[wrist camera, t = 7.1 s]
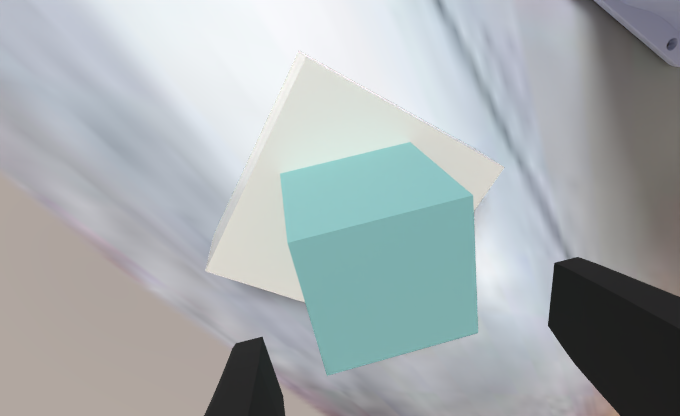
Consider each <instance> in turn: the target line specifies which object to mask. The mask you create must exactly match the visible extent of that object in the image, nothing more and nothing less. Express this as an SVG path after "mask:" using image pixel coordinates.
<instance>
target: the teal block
mask: <svg viewBox="0 0 680 416" xmlns="http://www.w3.org/2000/svg"><path fill="white" fill-rule="evenodd" d="M280 179H281V188H282V197H283V207H284V216H285V225H286V234H287V243H288V247H289V250H290V253H291V257H292V260H293V263H294V267H295V270H296V273H297V277H298V280H299V283H300V287H301V290H302V293H303V297H304V300H305V304H306V307H307V310H308V314H309V317H310V320H311V324H312V327H313V330H314V334H315V337H316V340H317V344H318V347H319V350H320V354H321V357H322V361H323V364H324V367H325V371H326V374H327V376H328V375H331V374H335V373H339V372H342V371H346V370H349V369H353V368H356V367H360V366H363V365H367V364H370V363H374V362H377V361H381V360H384V359H388V358H392V357H395V356H399V355H402V354H406V353H409V352H413V351H416V350H420V349H423V348H427V347H430V346H434V345H437V344H441V343H445V342H448V341H452V340H455V339H459V338H462V337H466V336H469V335H473V334H476V333H478V317H477V289H476V262H475V234H474V206H473V195H472V194H471V193H470V192H469V191H468V190H466V189H465V188H464V187H463V186H462V185H460V184H459V183H458V182H457V181H456V180H455V179H453V178H452V177H451V176H450V175H449V174H447V173H446V172H445V171H444V170H443V169H442V168H440V167H439V166H438V165H437V164H436V163H434V162H433V161H432V160H431V159H430V158H429V157H427V156H426V155H425V154H424V153H423V152H422V151H420V150H419V149H418V148H417V147H416V146H414V145H413V144H412V143H411V142H408V143H404V144H400V145H395V146H391V147H387V148H383V149H379V150H375V151H371V152H367V153H363V154H358V155H354V156H350V157H346V158H342V159H338V160H334V161H330V162H326V163H322V164H317V165H313V166H309V167H305V168H301V169H297V170H293V171H289V172H285V173H280Z"/></svg>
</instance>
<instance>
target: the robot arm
mask: <svg viewBox="0 0 680 416" xmlns="http://www.w3.org/2000/svg"><path fill="white" fill-rule="evenodd" d="M594 1H595V2H596V3H597V4H598V5H600V6H601V7H602V8H603V9H604V10H605V11H607V12H608V13H609V14H610V15H611V16H613V17H614V18H615V19H616V20H617V21H618V22H620V23H621V24H622V25H623V26H624V27H626V28H627V29H628V30H629V31H630V32H631V33H633V34H634V35H635V36H636V37H637V38H638V39H640V40H641V41H642V42H643V43H644V44H646V45H647V46H648V47H649V48H650V49H651V50H653V51H654V52H655V53H656V54H657V55H658V56H660V57H661V58H662V59H663V60H664V61H666V62H667V63H668V64H669V65H671V66H675V67H680V0H594ZM668 41H669V45H668V47H667V43H668ZM548 326H549V328H550V329H551V331H552V332H553V334H554V335H555V337H556V338H557V340H558V341H559V343H560V344H561V346H562V347H563V348H564V350H565V351H566V352H567V354H568V355H569V357H570V358H571V359H572V361H573V362H574V363H575V365H576V366H577V367H578V368H579V369H580V370H581V372H582V373H583V374H584V375H585V376H586V377H587V379H588V380H589V381H590V382H591V383H592V384H593V385H594V386H595V388H596V389H597V390H598V391H599V392H600V393H601V394H602V396H603V397H604V398H605V399H606V400H607V401H608V402H609V403H610V404H611V406H612V407H613V408H614V409H615V410H616V411H617V412H618V413H619V415H620V416H680V297H678V296H676V295H673V294H671V293H668V292H666V291H663V290H661V289H658V288H656V287H653V286H651V285H648V284H646V283H644V282H641V281H639V280H636V279H634V278H631V277H629V276H626V275H624V274H621V273H619V272H616V271H614V270H611V269H609V268H606V267H604V266H601V265H599V264H596V263H593V262H591V261H588V260H585V259H582V258H579V257H576V258H572V259H568V260H564V261H560V262H556V263H554V273H553V283H552V292H551V302H550V311H549V321H548ZM204 416H285V410H284V401H283V395H282V392H281V389H280V386H279V383H278V380H277V377H276V375H275V372H274V369H273V366H272V363H271V360H270V357H269V354H268V352H267V349H266V346H265V343H264V340H263V337H260V338H256V339H252V340H248V341H244V342H240V343H236V344H235V346H234V347H233V348H232V351H231V354H230V356H229V359H228V361H227V364H226V367H225V369H224V371H223V374H222V376H221V379H220V381H219V384H218V386H217V388H216V391H215V393H214V395H213V397H212V400H211V402H210V404H209V406H208V408H207V411H206V413H205V415H204Z"/></svg>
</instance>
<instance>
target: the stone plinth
mask: <svg viewBox="0 0 680 416" xmlns="http://www.w3.org/2000/svg"><path fill="white" fill-rule="evenodd" d="M408 142H411V143H412V144H413V145H414V146H416V147H417V148H418V149H419V150H420V151H422V152H423V153H424V154H425V155H426V156H427V157H429V158H430V159H431V160H432V161H433V162H434V163H436V164H437V165H438V166H439V167H440V168H442V169H443V170H444V171H445V172H446V173H447V174H449V175H450V176H451V177H452V178H453V179H455V180H456V181H457V182H458V183H459V184H460V185H462V186H463V187H464V188H465V189H466V190H468V191H469V192H470V193H471V194H472V195H473V206H474V210H475V209H476V208H477V206H478V205H479V203H480V202H481V200H482V199H483V198H484V196H485V195H486V193H487V192H488V190H489V189H490V187H491V186H492V185H493V183H494V182H495V180H496V179H497V177H498V176H499V175H500V173H501V172H502V170H503V169H504V167H503V166H502V165H500V164H498V163H497V162H495V161H494V160H492V159H490V158H489V157H487V156H486V155H484V154H482V153H481V152H479V151H477V150H476V149H474V148H473V147H471V146H469V145H468V144H466V143H464V142H462V141H460V140H459V139H457V138H455V137H453V136H451V135H450V134H448V133H446V132H444V131H442V130H441V129H439V128H437V127H435V126H433V125H432V124H430V123H428V122H426V121H424V120H423V119H421V118H419V117H417V116H416V115H414V114H412V113H410V112H408V111H407V110H405V109H403V108H401V107H399V106H398V105H396V104H394V103H392V102H390V101H389V100H387V99H385V98H383V97H381V96H380V95H378V94H376V93H374V92H372V91H371V90H369V89H367V88H365V87H363V86H362V85H360V84H358V83H356V82H355V81H353V80H351V79H349V78H347V77H346V76H344V75H342V74H340V73H338V72H337V71H335V70H333V69H331V68H329V67H328V66H326V65H324V64H322V63H320V62H319V61H317V60H315V59H313V58H311V57H310V56H308V55H306V54H304V53H302V52H301V51H298V53H297V55H296V57H295V59H294V62H293V64H292V66H291V68H290V70H289V72H288V75H287V77H286V79H285V81H284V83H283V85H282V88H281V90H280V92H279V94H278V96H277V98H276V101H275V103H274V105H273V107H272V109H271V111H270V114H269V116H268V118H267V120H266V122H265V124H264V127H263V129H262V131H261V133H260V135H259V137H258V140H257V142H256V144H255V146H254V148H253V150H252V153H251V155H250V157H249V159H248V161H247V163H246V166H245V168H244V170H243V172H242V174H241V176H240V179H239V181H238V183H237V185H236V187H235V189H234V192H233V194H232V196H231V198H230V200H229V202H228V205H227V207H226V209H225V211H224V213H223V215H222V217H221V220H220V222H219V224H218V226H217V228H216V230H215V233H214V235H213V240H212V244H211V248H210V253H209V257H208V262H207V266H206V270H205V271H206V272H209V273H213V274H216V275H219V276H222V277H225V278H228V279H232V280H235V281H238V282H241V283H244V284H248V285H251V286H254V287H257V288H260V289H263V290H267V291H270V292H273V293H276V294H279V295H283V296H286V297H289V298H292V299H295V300H298V301H302V302H305V300H304V297H303V293H302V290H301V287H300V283H299V280H298V277H297V273H296V270H295V267H294V263H293V260H292V257H291V253H290V250H289V247H288V243H287V234H286V225H285V216H284V207H283V197H282V188H281V179H280V173H285V172H289V171H293V170H297V169H301V168H305V167H309V166H313V165H317V164H322V163H326V162H330V161H334V160H338V159H342V158H346V157H350V156H354V155H358V154H363V153H367V152H371V151H375V150H379V149H383V148H387V147H391V146H395V145H400V144H404V143H408Z"/></svg>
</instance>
